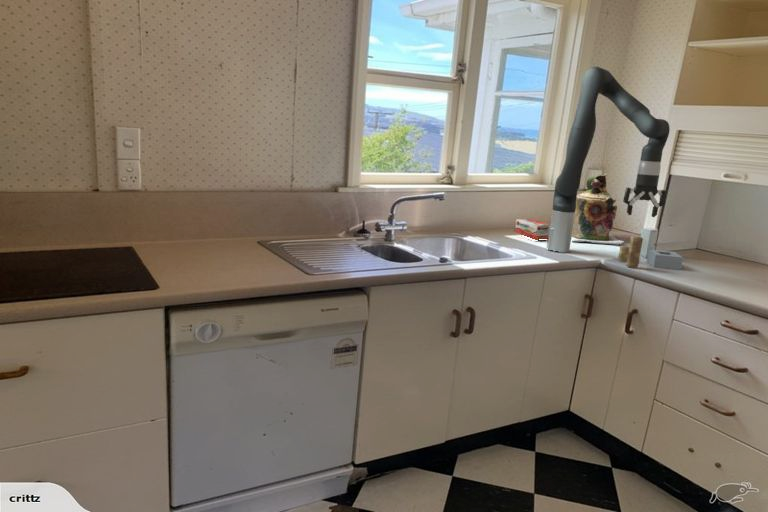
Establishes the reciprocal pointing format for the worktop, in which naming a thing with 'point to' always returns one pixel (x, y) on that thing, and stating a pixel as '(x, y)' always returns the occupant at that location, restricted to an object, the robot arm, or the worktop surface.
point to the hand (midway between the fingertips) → (641, 215)
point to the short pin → (623, 253)
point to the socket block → (664, 259)
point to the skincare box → (648, 240)
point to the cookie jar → (595, 213)
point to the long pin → (634, 252)
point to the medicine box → (532, 228)
